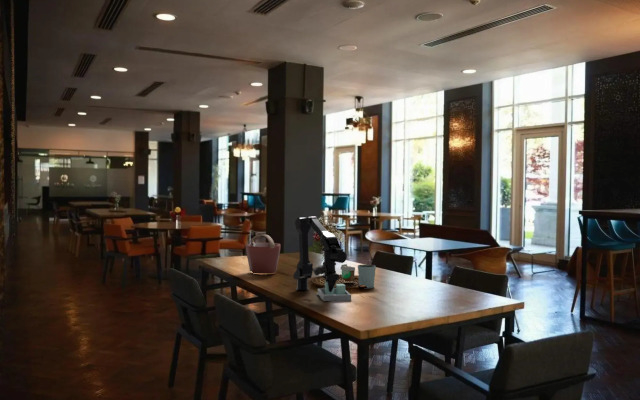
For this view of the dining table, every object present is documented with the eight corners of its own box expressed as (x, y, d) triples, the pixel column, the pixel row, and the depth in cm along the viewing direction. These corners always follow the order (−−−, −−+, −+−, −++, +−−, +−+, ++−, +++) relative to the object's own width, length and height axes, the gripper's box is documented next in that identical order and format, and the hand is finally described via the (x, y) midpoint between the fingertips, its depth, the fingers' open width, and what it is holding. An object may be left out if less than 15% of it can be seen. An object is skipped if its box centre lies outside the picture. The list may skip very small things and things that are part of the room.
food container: (337, 281, 304) (337, 264, 304) (346, 280, 306) (346, 264, 306) (345, 285, 293) (345, 267, 292) (355, 284, 295) (355, 267, 295)
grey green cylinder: (354, 287, 286) (354, 266, 286) (361, 284, 295) (362, 263, 295) (371, 289, 282) (371, 267, 281) (378, 286, 291) (378, 265, 290)
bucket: (242, 271, 339) (242, 233, 338) (274, 268, 348) (274, 232, 347) (252, 277, 316) (252, 237, 315) (286, 274, 325) (286, 235, 324)
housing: (317, 294, 268) (317, 282, 267) (343, 293, 270) (343, 281, 270) (323, 302, 251) (323, 288, 251) (351, 300, 253) (351, 287, 253)
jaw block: (324, 293, 262) (324, 281, 262) (332, 292, 262) (332, 281, 262) (326, 294, 258) (326, 283, 258) (334, 294, 258) (334, 282, 258)
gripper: (311, 258, 267) (310, 287, 268) (317, 263, 249) (317, 295, 249) (331, 257, 269) (331, 287, 270) (339, 263, 251) (339, 294, 251)
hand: (329, 290), depth 260 cm, fingers closed on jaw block, 4 cm apart
